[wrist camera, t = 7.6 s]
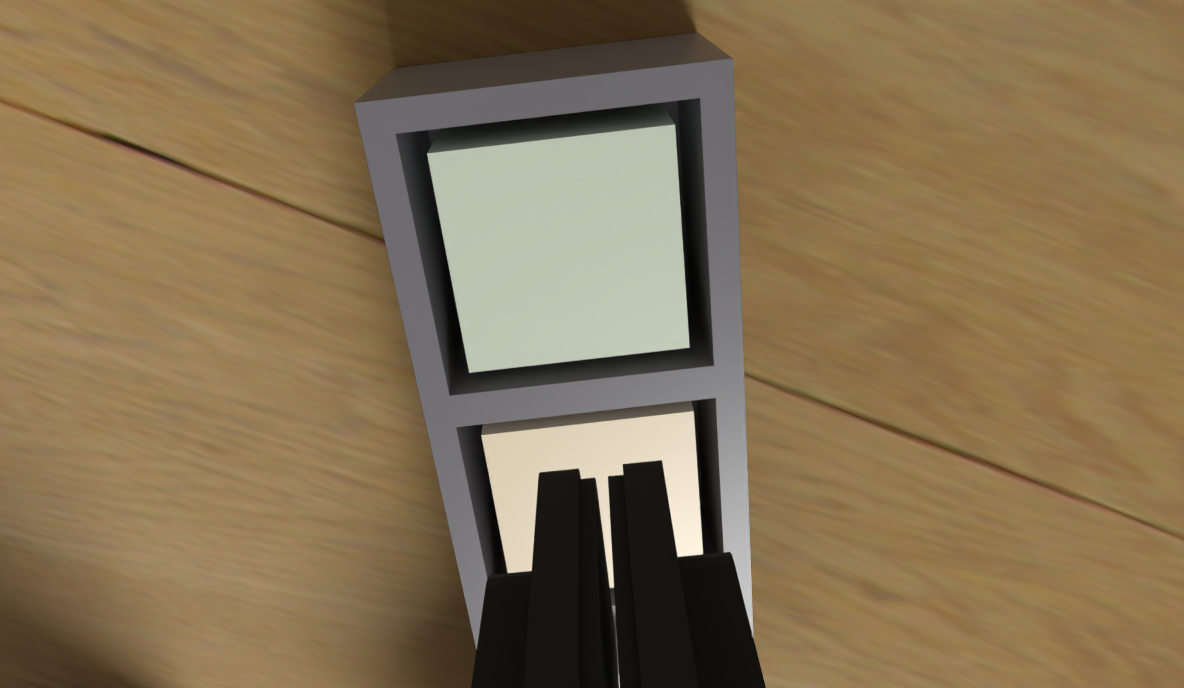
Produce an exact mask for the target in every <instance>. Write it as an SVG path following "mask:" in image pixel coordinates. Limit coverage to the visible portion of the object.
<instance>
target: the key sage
mask: <svg viewBox="0 0 1184 688" xmlns="http://www.w3.org/2000/svg"><path fill="white" fill-rule="evenodd" d="M427 156H428V161H429V166H430V172H431V177H432V182H433V187H434V192H435V198H436V203H437V208H438V213H439V218H440V224H441V229H442V234H443V239H444V244H445V249H446V255H447V260H448V265H449V270H450V275H451V281H452V286H453V291H454V296H455V301H456V307H457V312H458V317H459V322H460V327H461V333H462V338H463V343H464V348H465V353H466V359H467V364H468V369H469V373H472V372H481V371H489V370H498V369H507V368H516V367H524V366H533V365H542V364H551V363H559V362H568V361H577V360H586V359H595V358H603V357H612V356H621V355H630V354H638V353H647V352H656V351H665V350H673V349H682V348H690V346H689V331H688V316H687V300H686V285H685V270H684V254H683V239H682V224H681V208H680V193H679V178H678V162H677V147H676V132H675V124H674V122H673V120H672V119H671V117H670V115H669V114H668V112H667V111H666V109H665V107H664V106H663V104H662V103H653V104H645V105H636V106H628V107H619V108H611V109H602V110H594V111H585V112H577V113H568V114H560V115H551V116H543V117H534V118H526V119H517V120H509V121H500V122H492V123H483V124H475V125H466V126H458V127H449V128H441V130H440V132H439V133H438V135H437V137H436V139H435V140H434V142H433V144H432V146H431V147H430V149H429V151H428V153H427Z"/></svg>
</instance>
